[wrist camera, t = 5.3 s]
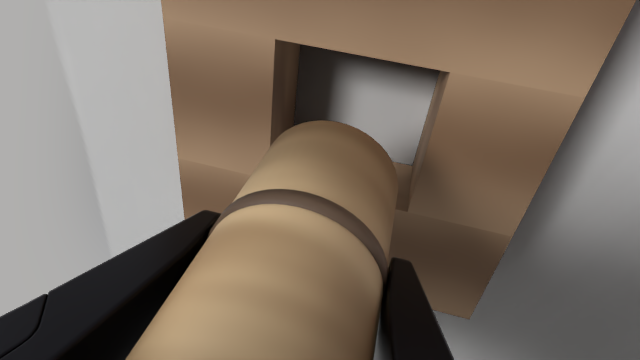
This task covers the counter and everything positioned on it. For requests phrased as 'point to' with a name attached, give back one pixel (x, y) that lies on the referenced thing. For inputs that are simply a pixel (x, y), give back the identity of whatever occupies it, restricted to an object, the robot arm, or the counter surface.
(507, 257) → the counter surface
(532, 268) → the counter surface
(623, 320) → the counter surface
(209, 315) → the peg
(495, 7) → the board
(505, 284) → the counter surface
